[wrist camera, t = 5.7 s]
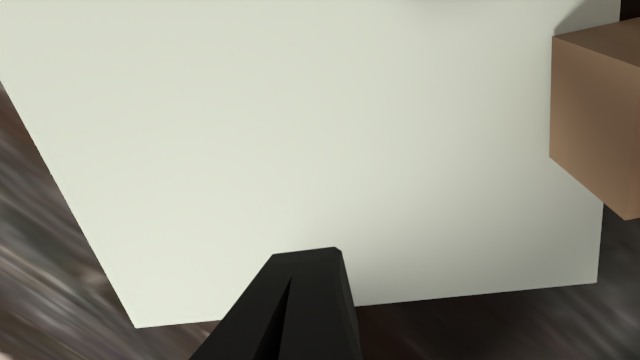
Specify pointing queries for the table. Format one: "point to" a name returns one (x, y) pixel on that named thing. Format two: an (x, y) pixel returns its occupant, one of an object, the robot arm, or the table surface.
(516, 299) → the table surface
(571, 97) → the walnut block
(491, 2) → the board
